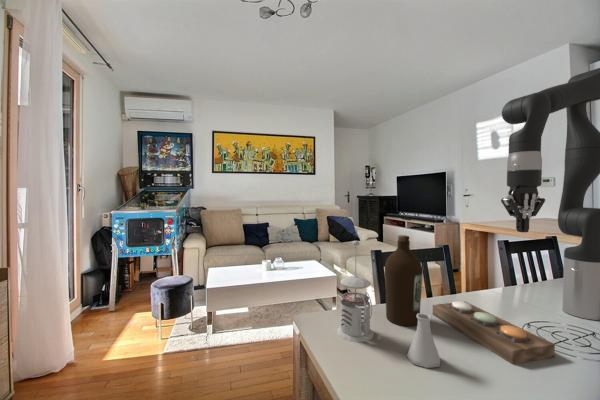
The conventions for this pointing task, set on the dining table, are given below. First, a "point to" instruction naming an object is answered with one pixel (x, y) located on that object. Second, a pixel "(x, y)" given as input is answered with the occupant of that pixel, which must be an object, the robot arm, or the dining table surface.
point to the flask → (423, 344)
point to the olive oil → (403, 284)
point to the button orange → (513, 334)
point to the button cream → (461, 307)
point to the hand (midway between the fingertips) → (522, 231)
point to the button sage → (485, 319)
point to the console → (495, 336)
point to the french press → (355, 309)
